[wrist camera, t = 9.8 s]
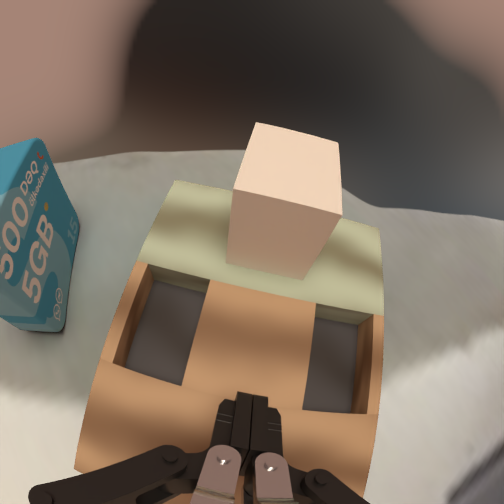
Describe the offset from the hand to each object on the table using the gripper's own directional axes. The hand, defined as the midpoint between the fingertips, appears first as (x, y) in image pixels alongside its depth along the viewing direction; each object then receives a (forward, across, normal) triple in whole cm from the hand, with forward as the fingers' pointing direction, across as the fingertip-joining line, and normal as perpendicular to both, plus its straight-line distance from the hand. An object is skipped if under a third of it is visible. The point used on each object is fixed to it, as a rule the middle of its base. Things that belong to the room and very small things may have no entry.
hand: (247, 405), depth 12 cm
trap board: (+8, 0, +2) cm, 9 cm away
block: (+13, 0, -6) cm, 14 cm away
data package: (+10, +19, +1) cm, 22 cm away
